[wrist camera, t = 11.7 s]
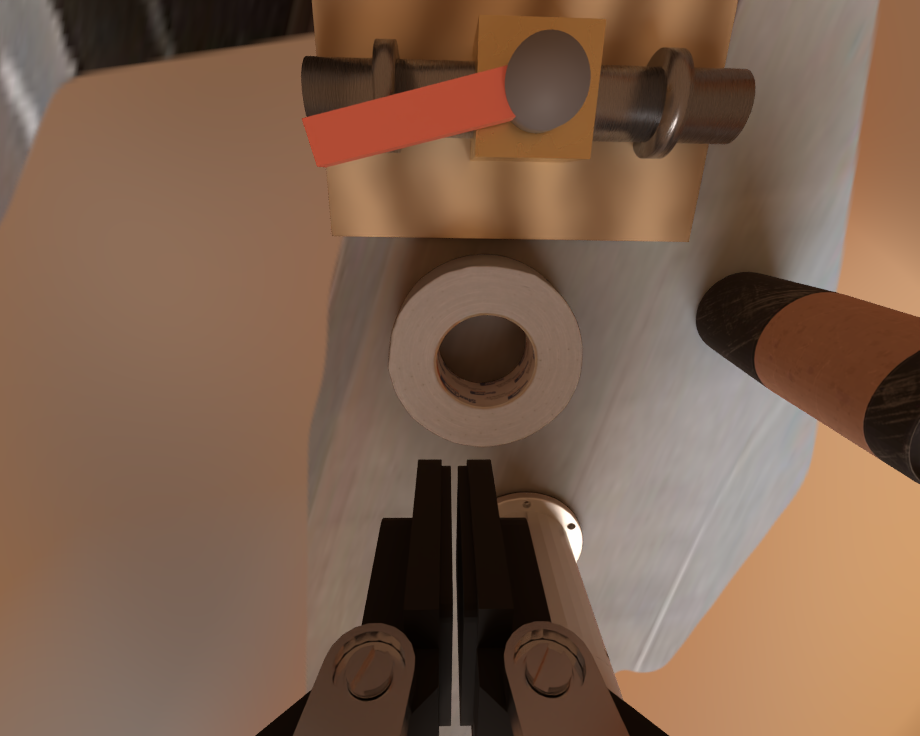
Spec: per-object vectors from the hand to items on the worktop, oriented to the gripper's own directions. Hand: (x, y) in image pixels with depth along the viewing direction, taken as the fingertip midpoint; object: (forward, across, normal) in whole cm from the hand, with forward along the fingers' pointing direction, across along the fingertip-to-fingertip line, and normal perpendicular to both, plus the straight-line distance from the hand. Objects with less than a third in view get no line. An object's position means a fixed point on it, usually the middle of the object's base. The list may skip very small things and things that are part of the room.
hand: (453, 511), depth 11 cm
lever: (+21, 0, -11) cm, 24 cm away
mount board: (+29, -5, -12) cm, 32 cm away
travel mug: (+29, -25, +3) cm, 39 cm away
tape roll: (+30, -3, +6) cm, 30 cm away
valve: (+29, -5, -12) cm, 32 cm away
